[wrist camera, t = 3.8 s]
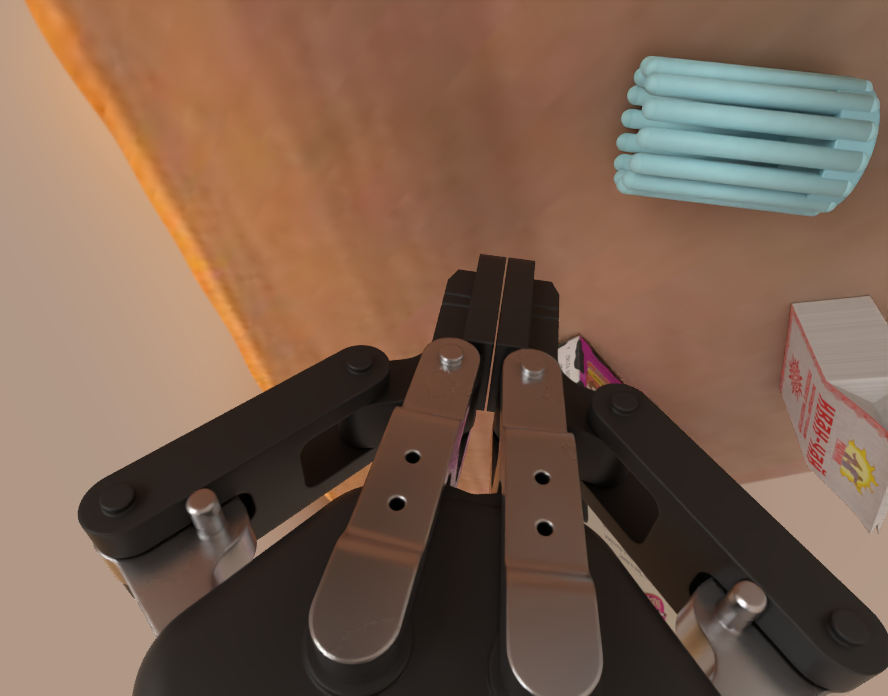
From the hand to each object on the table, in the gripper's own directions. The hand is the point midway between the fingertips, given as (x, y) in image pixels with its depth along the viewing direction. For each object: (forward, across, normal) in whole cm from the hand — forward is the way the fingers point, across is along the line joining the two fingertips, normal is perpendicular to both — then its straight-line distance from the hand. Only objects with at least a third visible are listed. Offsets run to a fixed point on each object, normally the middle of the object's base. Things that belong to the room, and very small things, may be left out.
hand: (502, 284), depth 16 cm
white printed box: (+15, -19, +12) cm, 27 cm away
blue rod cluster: (+15, -9, 0) cm, 17 cm away
